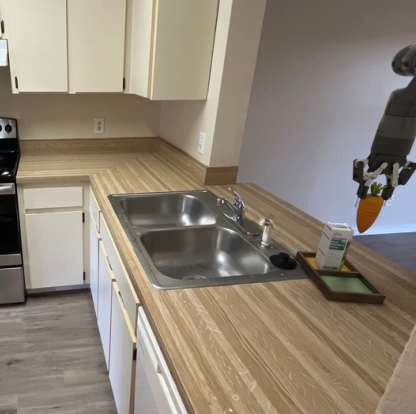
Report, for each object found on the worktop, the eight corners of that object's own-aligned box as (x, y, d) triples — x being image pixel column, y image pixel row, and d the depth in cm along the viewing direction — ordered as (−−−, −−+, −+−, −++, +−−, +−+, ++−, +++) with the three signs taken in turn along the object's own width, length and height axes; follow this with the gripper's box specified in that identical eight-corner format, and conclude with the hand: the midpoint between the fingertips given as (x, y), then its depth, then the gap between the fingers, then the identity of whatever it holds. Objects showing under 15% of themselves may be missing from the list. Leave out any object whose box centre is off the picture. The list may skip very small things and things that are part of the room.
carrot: (352, 227, 94) (369, 177, 88) (374, 233, 91) (392, 182, 85) (346, 233, 92) (363, 181, 86) (368, 239, 88) (387, 186, 82)
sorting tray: (339, 260, 111) (342, 253, 109) (382, 304, 91) (386, 296, 89) (295, 257, 112) (297, 250, 111) (327, 299, 92) (330, 291, 91)
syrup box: (320, 270, 104) (333, 229, 98) (313, 260, 109) (326, 220, 103) (341, 272, 103) (355, 231, 97) (333, 262, 108) (346, 222, 102)
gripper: (372, 136, 78) (350, 203, 85) (441, 137, 76) (413, 205, 83) (354, 130, 85) (335, 192, 91) (416, 131, 83) (392, 195, 90)
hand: (372, 198), depth 87 cm, fingers closed on carrot, 5 cm apart
